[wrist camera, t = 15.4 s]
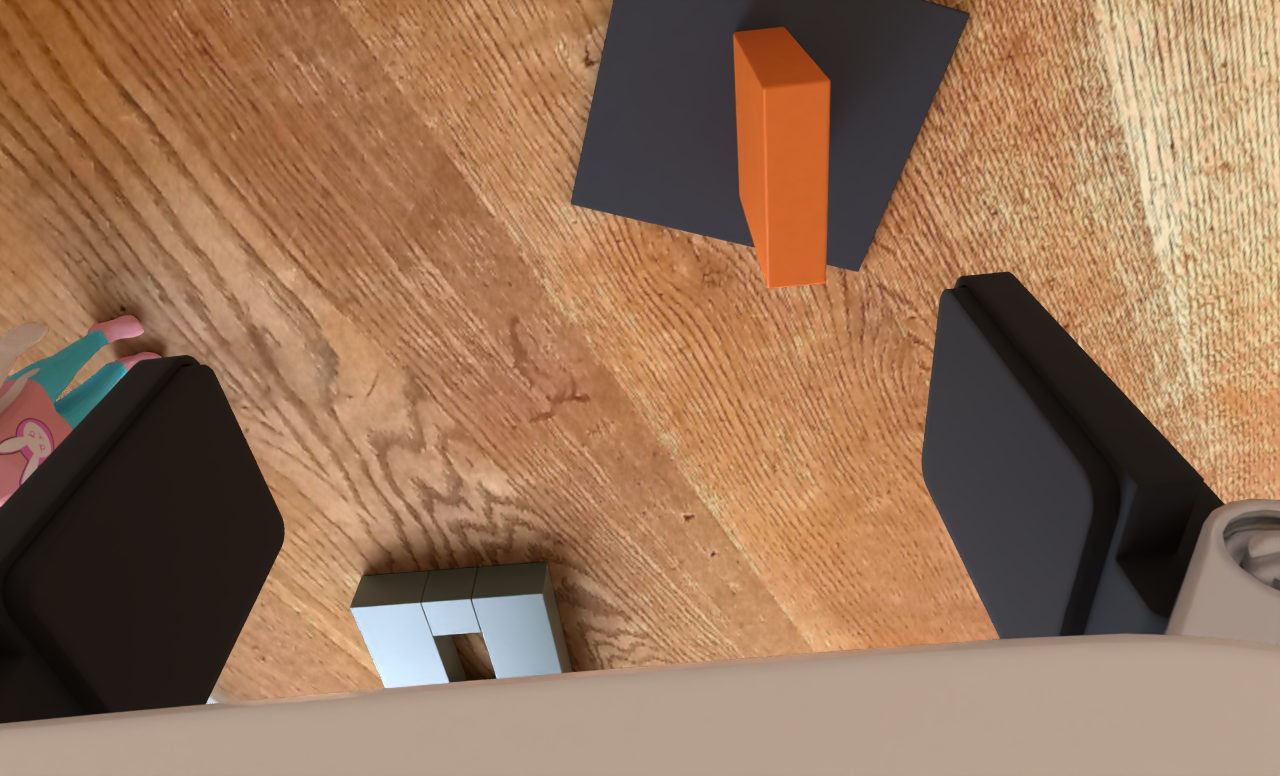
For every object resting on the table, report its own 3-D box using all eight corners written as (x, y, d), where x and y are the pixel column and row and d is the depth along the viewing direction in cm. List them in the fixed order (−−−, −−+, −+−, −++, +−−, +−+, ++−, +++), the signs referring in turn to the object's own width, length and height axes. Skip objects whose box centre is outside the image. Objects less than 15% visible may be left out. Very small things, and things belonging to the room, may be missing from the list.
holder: (418, 713, 50) (410, 746, 48) (361, 575, 43) (349, 607, 41) (580, 702, 49) (577, 735, 47) (547, 561, 43) (543, 593, 41)
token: (739, 197, 31) (767, 289, 25) (732, 31, 28) (762, 86, 21) (786, 192, 31) (826, 284, 25) (784, 25, 28) (831, 79, 21)
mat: (571, 200, 32) (570, 204, 32) (631, -85, 27) (631, -84, 26) (856, 268, 34) (858, 272, 33) (966, 12, 28) (970, 14, 28)
